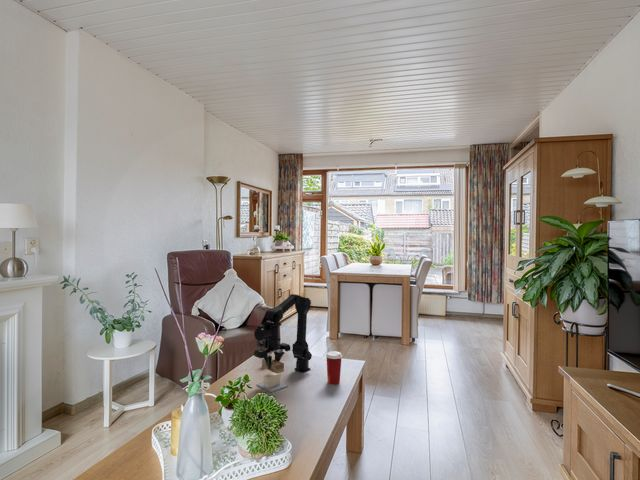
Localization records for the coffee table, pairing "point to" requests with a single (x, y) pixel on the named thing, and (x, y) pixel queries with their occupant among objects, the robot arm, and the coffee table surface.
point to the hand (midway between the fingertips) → (272, 367)
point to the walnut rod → (274, 366)
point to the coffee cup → (333, 367)
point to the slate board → (274, 388)
